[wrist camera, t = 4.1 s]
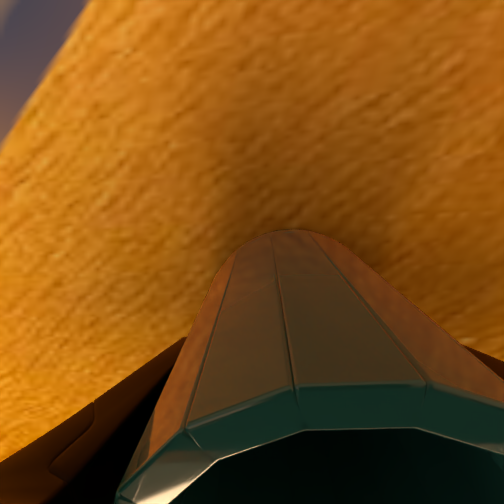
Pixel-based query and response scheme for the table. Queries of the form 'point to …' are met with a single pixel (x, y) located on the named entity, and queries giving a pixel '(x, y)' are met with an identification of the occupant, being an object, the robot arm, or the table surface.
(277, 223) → the table surface
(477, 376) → the glazed pot
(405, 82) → the table surface
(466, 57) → the table surface
